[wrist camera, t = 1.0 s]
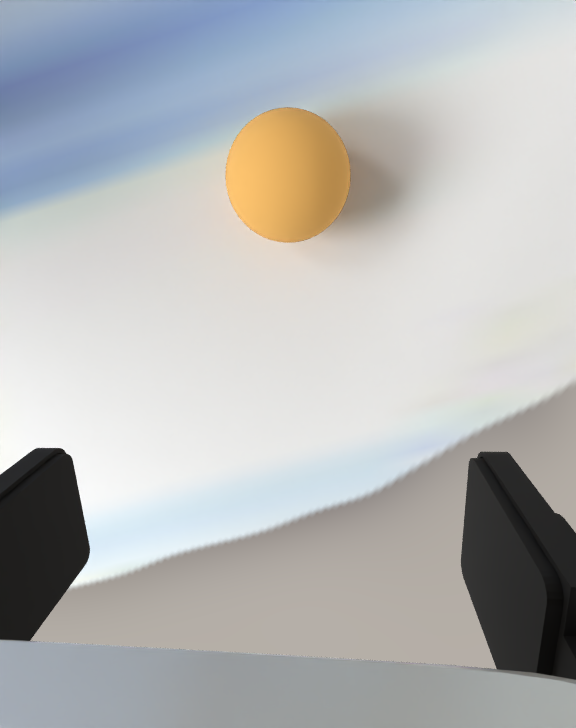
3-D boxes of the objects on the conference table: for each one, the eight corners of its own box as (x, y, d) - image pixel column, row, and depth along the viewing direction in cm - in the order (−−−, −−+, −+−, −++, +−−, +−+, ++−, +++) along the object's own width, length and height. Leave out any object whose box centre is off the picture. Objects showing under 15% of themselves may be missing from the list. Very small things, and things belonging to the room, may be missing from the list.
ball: (238, 239, 26) (214, 244, 20) (237, 121, 24) (209, 91, 19) (344, 241, 26) (349, 247, 20) (351, 122, 24) (358, 91, 18)
